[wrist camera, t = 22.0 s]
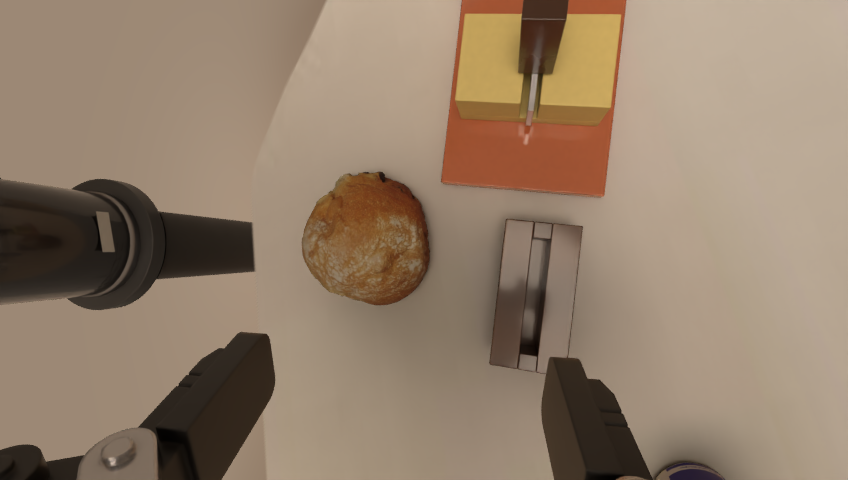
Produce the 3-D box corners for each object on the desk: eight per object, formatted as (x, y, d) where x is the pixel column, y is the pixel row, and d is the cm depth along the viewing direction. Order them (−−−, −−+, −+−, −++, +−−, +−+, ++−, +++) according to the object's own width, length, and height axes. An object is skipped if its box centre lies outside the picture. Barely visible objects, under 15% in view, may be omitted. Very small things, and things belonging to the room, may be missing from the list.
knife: (543, 126, 30) (561, 68, 20) (512, 125, 30) (515, 67, 21) (554, 30, 30) (576, -73, 21) (523, 30, 30) (531, -71, 21)
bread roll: (331, 269, 39) (287, 317, 32) (322, 159, 34) (269, 187, 27) (436, 283, 37) (413, 338, 30) (440, 169, 33) (415, 201, 25)
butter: (597, 126, 30) (611, 107, 26) (460, 119, 32) (454, 100, 28) (606, 44, 30) (621, 13, 26) (469, 42, 32) (464, 13, 28)
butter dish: (601, 197, 31) (604, 196, 30) (442, 184, 33) (440, 182, 32) (625, -15, 31) (629, -24, 30) (465, -14, 33) (464, -22, 32)
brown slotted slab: (558, 361, 31) (565, 377, 27) (491, 351, 32) (489, 364, 28) (573, 229, 31) (582, 226, 27) (506, 222, 32) (505, 218, 28)
